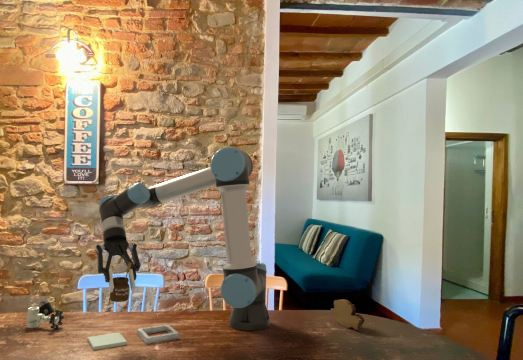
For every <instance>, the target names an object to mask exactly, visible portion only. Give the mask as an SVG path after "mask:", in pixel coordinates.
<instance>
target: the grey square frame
mask: <svg viewBox="0 0 523 360" xmlns="http://www.w3.org/2000/svg"><path fill="white" fill-rule="evenodd" d="M136 331H137V332H136V334H137V336H139V338H140V339H141V340H142V341H143V342H144V343H145V344H146V345H149V344H154V343H160V342H167V341H173V340H179V339H180V333H179V331H177V330H176V329H175V328H173V327H172V326H171V325H169V324H162V325H161V324H160V325H155V326H147V327H140V328H137V330H136ZM161 332H166V333H165V334H163V333H162V334H158V335H152V336H149V334H154V333H155V334H156V333H161Z"/></svg>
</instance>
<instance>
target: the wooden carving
mask: <svg viewBox="0 0 523 360" xmlns="http://www.w3.org/2000/svg"><path fill="white" fill-rule="evenodd" d="M356 310H357V308H356V305H355V303H354V304H353V303H352V302H351V301H349V300H348V299H344V298H343V299H335V300H333V308H330V311H331V312H332V313H333V316H332V317H333V318H334V320H335V322H337V323H338V324H339V325H340V326H342V325H343V326H345V327H344V328H346V327H347V328H346V329H349V328H353V329H354V330H356V331H358V330H360V329H362V328H363V324H364V323H365V318H364V317H363V315H361V314H358V313H357V312H356ZM356 313H357V314H356ZM343 326H342V327H343Z"/></svg>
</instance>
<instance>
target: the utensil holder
mask: <svg viewBox="0 0 523 360" xmlns="http://www.w3.org/2000/svg"><path fill="white" fill-rule="evenodd" d="M129 263H130V262H129ZM130 267H131V264H128V267H126V270H125V271H126V275H125V276H119V273H116V274H115V273H114V272H113V284H114V289H113V292H110V291H109V300H110V301H111V302H113V303H114V302H115V303H121V302H124V303H125V302H127V301H128V300H129V298H130V297H129V296H130V280H129V277H128V275H129V271H130ZM115 268H116V266H113V269H115ZM116 271H120V270H119V268H116ZM116 276H117V277H116Z"/></svg>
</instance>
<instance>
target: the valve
mask: <svg viewBox="0 0 523 360" xmlns="http://www.w3.org/2000/svg"><path fill="white" fill-rule="evenodd" d="M63 312H64V311H63V310H60V309H55V310H54V313H51V314H50V316H49V315H48V316H45V315H44V314H39V306H31V307H28V309H27V315H26V322H27V323H26V328H28V329H34V328H38V327H39V324H40V323H43V322H49V324H52V325H50V329H53V330H58V329H59V327H60V326H62V325H63V322H62V321H63V320H64V319H65V315H62V314H64V313H63Z"/></svg>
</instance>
